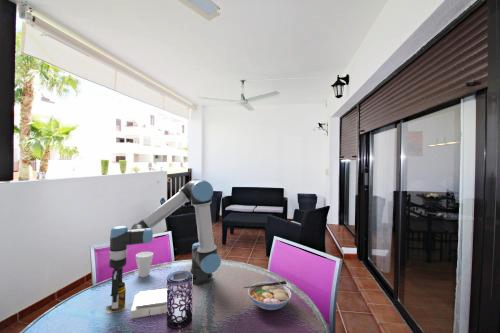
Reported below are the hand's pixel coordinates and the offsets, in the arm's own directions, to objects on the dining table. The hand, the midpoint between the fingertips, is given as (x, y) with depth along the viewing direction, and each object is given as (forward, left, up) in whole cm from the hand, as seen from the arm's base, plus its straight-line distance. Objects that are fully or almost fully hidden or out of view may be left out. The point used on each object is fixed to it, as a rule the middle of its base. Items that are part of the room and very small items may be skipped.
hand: (116, 304), depth 121 cm
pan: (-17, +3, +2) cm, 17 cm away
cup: (-9, -37, -2) cm, 38 cm away
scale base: (-17, +3, -2) cm, 17 cm away
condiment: (0, 0, -2) cm, 2 cm away
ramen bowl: (-75, +18, -2) cm, 77 cm away
